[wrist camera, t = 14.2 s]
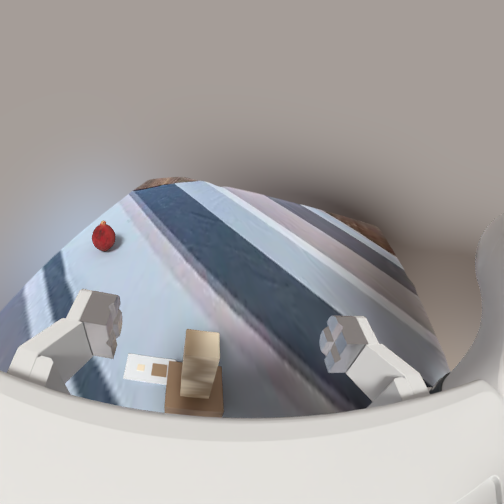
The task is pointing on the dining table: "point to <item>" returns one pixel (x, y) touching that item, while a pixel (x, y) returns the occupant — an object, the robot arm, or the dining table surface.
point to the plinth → (191, 404)
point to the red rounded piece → (103, 237)
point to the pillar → (199, 363)
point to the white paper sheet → (147, 369)
